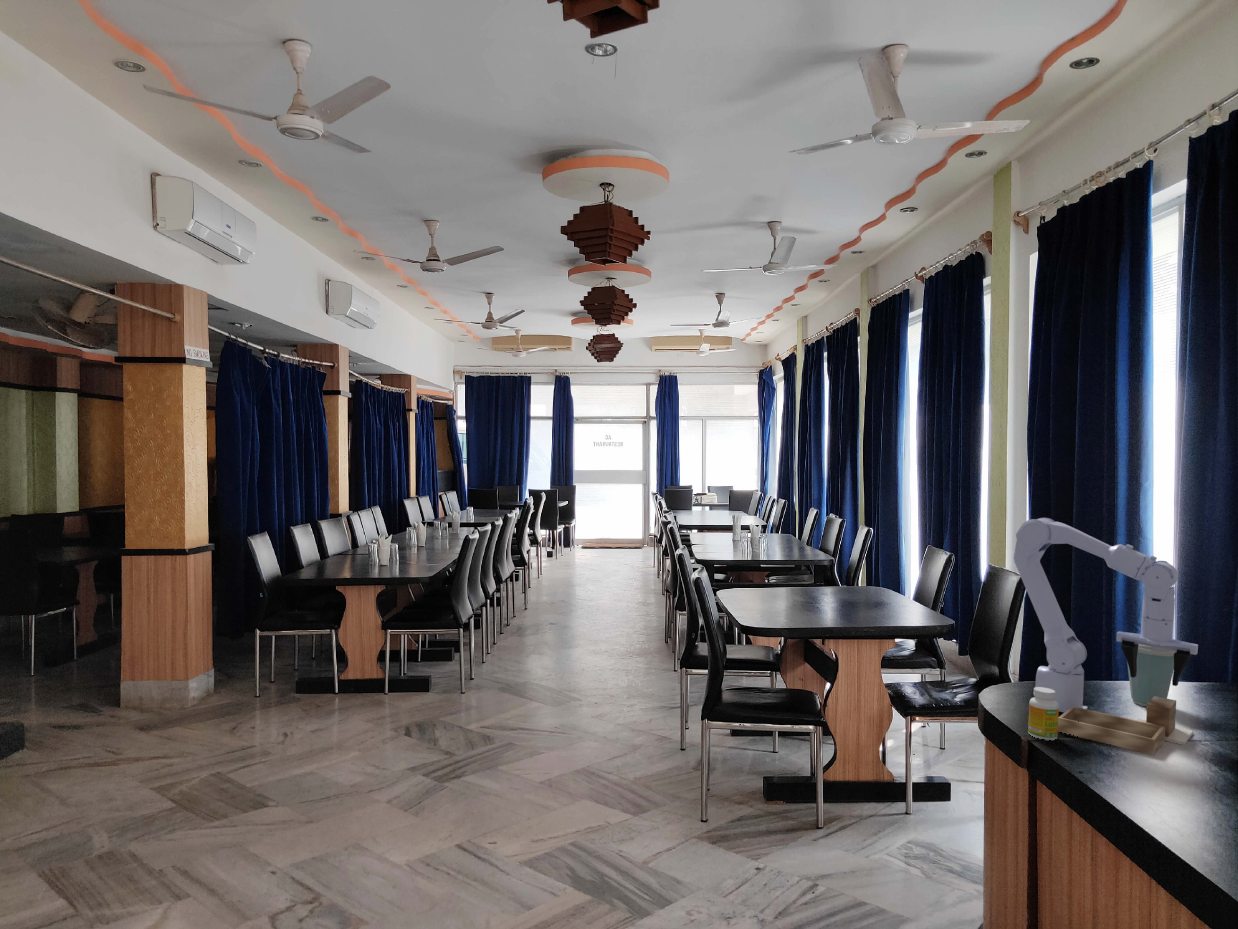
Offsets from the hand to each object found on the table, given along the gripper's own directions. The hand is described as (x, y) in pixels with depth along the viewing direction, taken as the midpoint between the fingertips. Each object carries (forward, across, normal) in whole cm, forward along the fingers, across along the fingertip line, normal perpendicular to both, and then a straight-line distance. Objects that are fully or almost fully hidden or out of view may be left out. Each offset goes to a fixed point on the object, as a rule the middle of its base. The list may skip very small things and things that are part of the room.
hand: (1153, 680), depth 175 cm
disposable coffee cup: (+10, -4, +20) cm, 23 cm away
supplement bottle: (+11, -15, -24) cm, 30 cm away
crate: (+10, -5, -13) cm, 17 cm away
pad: (+10, +2, -2) cm, 11 cm away
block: (+10, +2, -2) cm, 10 cm away
